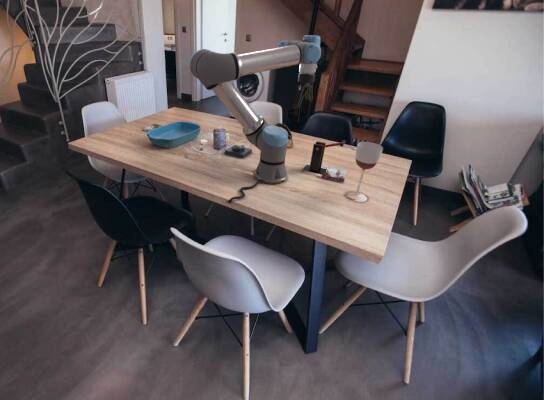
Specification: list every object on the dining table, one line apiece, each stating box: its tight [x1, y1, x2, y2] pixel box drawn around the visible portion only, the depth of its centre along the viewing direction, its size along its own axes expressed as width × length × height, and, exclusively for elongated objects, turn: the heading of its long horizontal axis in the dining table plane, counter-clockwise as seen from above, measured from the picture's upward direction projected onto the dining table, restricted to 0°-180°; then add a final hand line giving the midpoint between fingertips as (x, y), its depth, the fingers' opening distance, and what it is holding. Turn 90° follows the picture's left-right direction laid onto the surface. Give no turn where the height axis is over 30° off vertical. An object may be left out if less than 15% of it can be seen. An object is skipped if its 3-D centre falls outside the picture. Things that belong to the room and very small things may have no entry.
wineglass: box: [346, 141, 384, 203], centre depth 127 cm, size 9×10×23 cm
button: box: [234, 142, 243, 148], centre depth 171 cm, size 4×4×2 cm
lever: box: [318, 139, 347, 149], centre depth 144 cm, size 13×6×2 cm, turn 58°
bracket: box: [301, 141, 328, 176], centre depth 150 cm, size 11×8×15 cm
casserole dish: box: [146, 120, 202, 149], centre depth 189 cm, size 37×22×7 cm, turn 146°
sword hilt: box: [274, 122, 294, 149], centre depth 185 cm, size 10×24×15 cm
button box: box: [224, 144, 253, 159], centre depth 173 cm, size 10×12×4 cm
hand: (300, 118), depth 153 cm, fingers open, 13 cm apart
